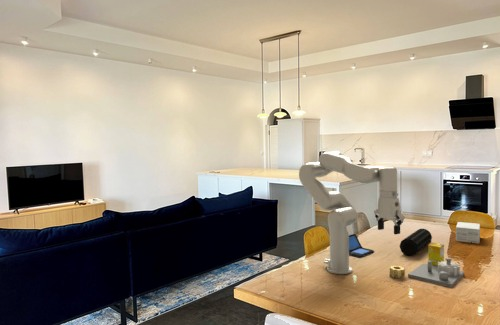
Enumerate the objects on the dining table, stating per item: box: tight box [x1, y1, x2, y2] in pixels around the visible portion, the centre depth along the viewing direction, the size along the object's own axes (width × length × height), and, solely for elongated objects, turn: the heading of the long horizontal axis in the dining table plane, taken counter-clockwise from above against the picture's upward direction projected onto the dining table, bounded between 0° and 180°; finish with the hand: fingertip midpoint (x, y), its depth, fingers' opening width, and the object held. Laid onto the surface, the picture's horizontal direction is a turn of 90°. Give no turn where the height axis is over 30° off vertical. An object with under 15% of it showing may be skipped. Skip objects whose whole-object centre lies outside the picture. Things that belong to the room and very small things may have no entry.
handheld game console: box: [349, 233, 375, 258], centre depth 216 cm, size 16×13×9 cm
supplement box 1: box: [427, 242, 445, 266], centre depth 191 cm, size 6×6×11 cm
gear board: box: [407, 257, 465, 288], centre depth 176 cm, size 19×20×8 cm
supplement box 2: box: [455, 221, 481, 244], centre depth 239 cm, size 17×13×9 cm
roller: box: [399, 228, 433, 257], centre depth 221 cm, size 38×10×10 cm, turn 140°
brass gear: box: [389, 265, 406, 280], centre depth 177 cm, size 7×7×4 cm
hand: (388, 231), depth 166 cm, fingers open, 9 cm apart
